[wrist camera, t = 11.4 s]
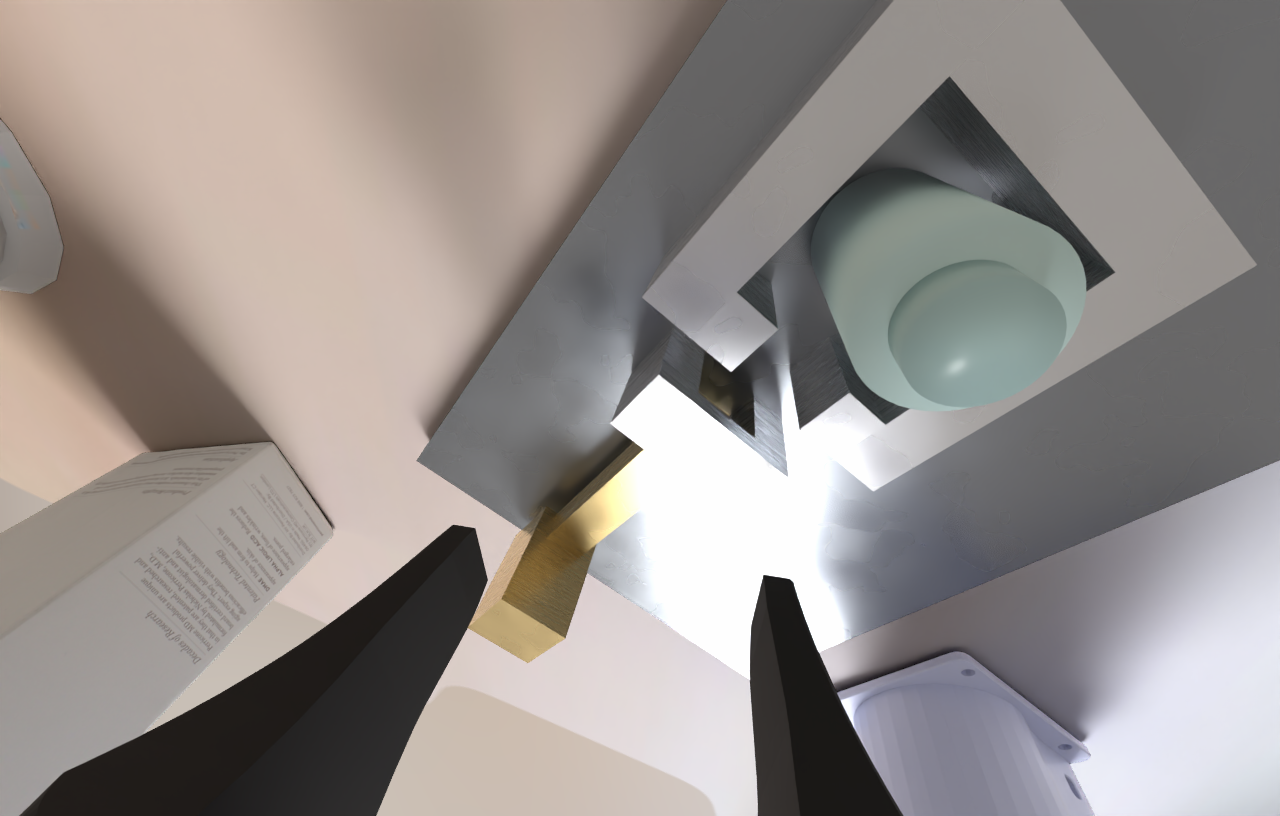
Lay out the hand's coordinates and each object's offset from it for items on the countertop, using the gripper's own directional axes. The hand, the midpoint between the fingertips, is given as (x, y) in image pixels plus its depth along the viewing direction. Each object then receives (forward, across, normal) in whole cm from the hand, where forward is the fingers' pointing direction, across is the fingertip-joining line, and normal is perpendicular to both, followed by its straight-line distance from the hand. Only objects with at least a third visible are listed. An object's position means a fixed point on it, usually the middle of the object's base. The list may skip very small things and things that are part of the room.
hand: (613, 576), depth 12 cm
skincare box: (+6, +20, +6) cm, 22 cm away
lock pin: (+5, +1, +1) cm, 5 cm away
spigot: (+5, -6, -7) cm, 10 cm away
